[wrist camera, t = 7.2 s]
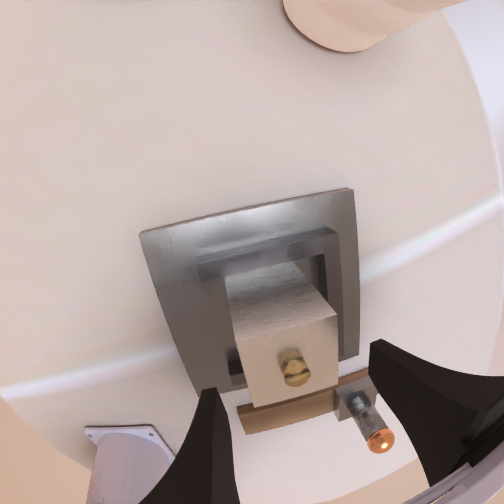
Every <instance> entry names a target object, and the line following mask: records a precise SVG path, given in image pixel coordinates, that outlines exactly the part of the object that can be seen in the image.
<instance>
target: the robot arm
mask: <svg viewBox="0 0 504 504" xmlns="http://www.w3.org/2000/svg"><path fill="white" fill-rule="evenodd" d="M368 375H369V377H370V378H371V380H372V382H373V384H374V386H375V388H376V390H377V391H378V392H379V394H380V395H381V397H382V398H383V399H384V401H385V402H386V403H387V405H388V406H389V407H390V409H391V410H392V411H393V413H394V414H395V415H396V417H397V418H398V420H399V421H400V423H401V424H402V426H403V427H404V429H405V431H406V433H407V435H408V436H409V438H410V440H411V442H412V444H413V446H414V448H415V450H416V452H417V455H418V457H419V459H420V462H421V464H422V466H423V469H424V472H425V474H426V477H427V480H428V483H429V486H430V488H429V489H427V490H426V491H424V492H422V493H421V494H419V495H417V496H415V497H414V498H412V499H410V500H408V501H406V502H404V503H402V504H430V503H432V502H433V501H435V500H437V499H438V498H440V497H441V496H443V495H444V494H446V493H447V492H449V493H447V494H446V495H445V496H443V497H442V498H441V499H439V500H438V501H436V502H435V503H434V504H485V503H487V502H488V501H489V500H490V499H491V498H492V497H493V496H494V495H495V494H497V493H498V492H499V491H500V490H501V489H502V488H503V487H504V376H480V375H473V374H467V373H462V372H457V371H453V370H450V369H447V368H443V367H440V366H438V365H435V364H432V363H430V362H427V361H425V360H423V359H421V358H418V357H416V356H414V355H412V354H410V353H408V352H406V351H404V350H402V349H400V348H398V347H396V346H394V345H392V344H391V343H389V342H387V341H385V340H383V339H379V340H377V341H374V342H372V343H370V354H369V367H368ZM83 432H84V433H85V434H86V436H87V437H88V438H89V439H90V440H91V441H92V442H93V443H94V444H95V446H96V447H97V452H96V456H95V461H94V465H93V470H92V475H91V480H90V485H89V490H88V495H87V502H86V504H240V501H239V496H238V492H237V487H236V482H235V475H234V464H233V451H232V438H231V430H230V425H229V420H228V415H227V412H226V410H225V407H224V405H223V402H222V400H221V397H220V395H219V392H218V390H217V387H213V388H208V389H203V390H202V391H201V394H200V398H199V402H198V406H197V409H196V412H195V415H194V418H193V420H192V423H191V426H190V428H189V431H188V433H187V435H186V438H185V440H184V442H183V444H182V446H181V448H180V450H179V452H178V454H177V455H176V457H175V456H174V454H173V453H172V452H171V450H170V449H169V448H168V446H167V445H166V444H165V443H164V441H163V440H162V438H161V437H160V436H159V434H158V433H157V432H156V430H155V429H154V428H153V427H152V426H134V427H85V428H84V429H83Z"/></svg>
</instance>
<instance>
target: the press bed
mask: <svg viewBox="0 0 504 504" xmlns="http://www.w3.org/2000/svg"><path fill="white" fill-rule="evenodd" d="M139 238H140V242H141V245H142V249H143V252H144V255H145V259H146V262H147V265H148V268H149V271H150V274H151V277H152V280H153V284H154V286H155V289H156V292H157V295H158V298H159V301H160V304H161V307H162V309H163V312H164V315H165V318H166V320H167V323H168V326H169V328H170V331H171V333H172V336H173V339H174V341H175V344H176V346H177V349H178V351H179V353H180V356H181V358H182V361H183V363H184V365H185V368H186V370H187V372H188V375H189V377H190V379H191V381H192V384H193V386H194V388H195V390H196V393H197V395H198V397H200V394H201V391H202V390H203V389H208V388H213V387H217V390H218V392H219V394H220V393H225V392H230V391H235V390H239V389H244V388H248V385H247V381H246V378H245V374H244V370H243V367H242V363H241V360H240V356H239V352H238V348H237V345H236V341H235V336H234V330H233V325H232V319H231V314H230V308H229V303H228V297H227V291H226V286H225V283H228V282H233V281H237V280H241V279H246V278H250V277H255V276H259V275H263V274H268V273H272V272H276V271H280V270H285V269H289V268H293V267H298V268H299V269H300V270H301V272H302V273H303V274H304V275H305V276H306V277H307V279H308V280H309V281H310V282H311V283H312V285H313V286H314V287H315V288H316V289H317V291H318V292H319V293H320V294H321V295H322V297H323V298H324V299H325V300H326V301H327V303H328V304H329V305H330V306H331V307H332V309H333V310H334V311H335V312H336V314H337V320H338V362H340V361H343V360H346V359H349V358H351V357H354V356H357V355H359V336H360V281H359V255H358V237H357V224H356V212H355V201H354V192H353V189H349V188H346V189H340V190H334V191H328V192H323V193H317V194H312V195H306V196H301V197H296V198H290V199H285V200H280V201H275V202H270V203H265V204H260V205H255V206H251V207H246V208H241V209H236V210H232V211H227V212H223V213H218V214H214V215H209V216H205V217H201V218H196V219H192V220H188V221H184V222H179V223H175V224H171V225H167V226H163V227H159V228H155V229H151V230H147V231H143V232H141V233H140V234H139Z"/></svg>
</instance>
